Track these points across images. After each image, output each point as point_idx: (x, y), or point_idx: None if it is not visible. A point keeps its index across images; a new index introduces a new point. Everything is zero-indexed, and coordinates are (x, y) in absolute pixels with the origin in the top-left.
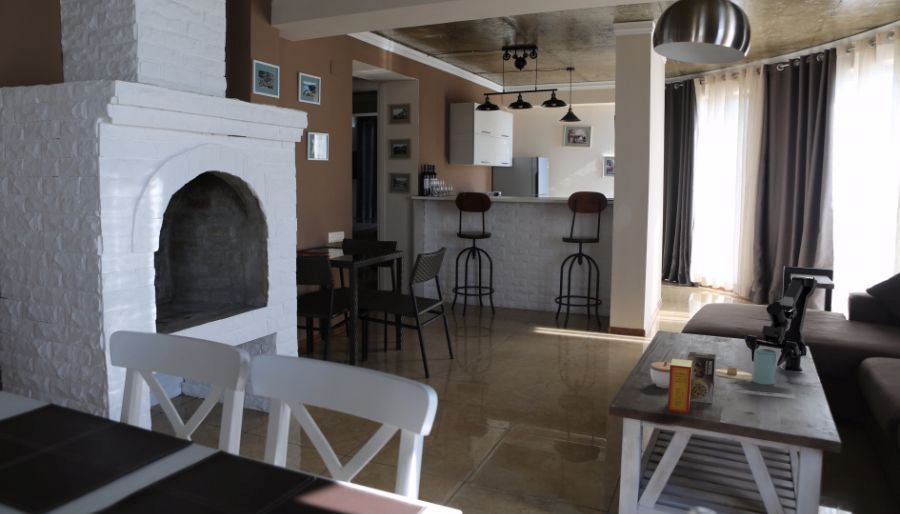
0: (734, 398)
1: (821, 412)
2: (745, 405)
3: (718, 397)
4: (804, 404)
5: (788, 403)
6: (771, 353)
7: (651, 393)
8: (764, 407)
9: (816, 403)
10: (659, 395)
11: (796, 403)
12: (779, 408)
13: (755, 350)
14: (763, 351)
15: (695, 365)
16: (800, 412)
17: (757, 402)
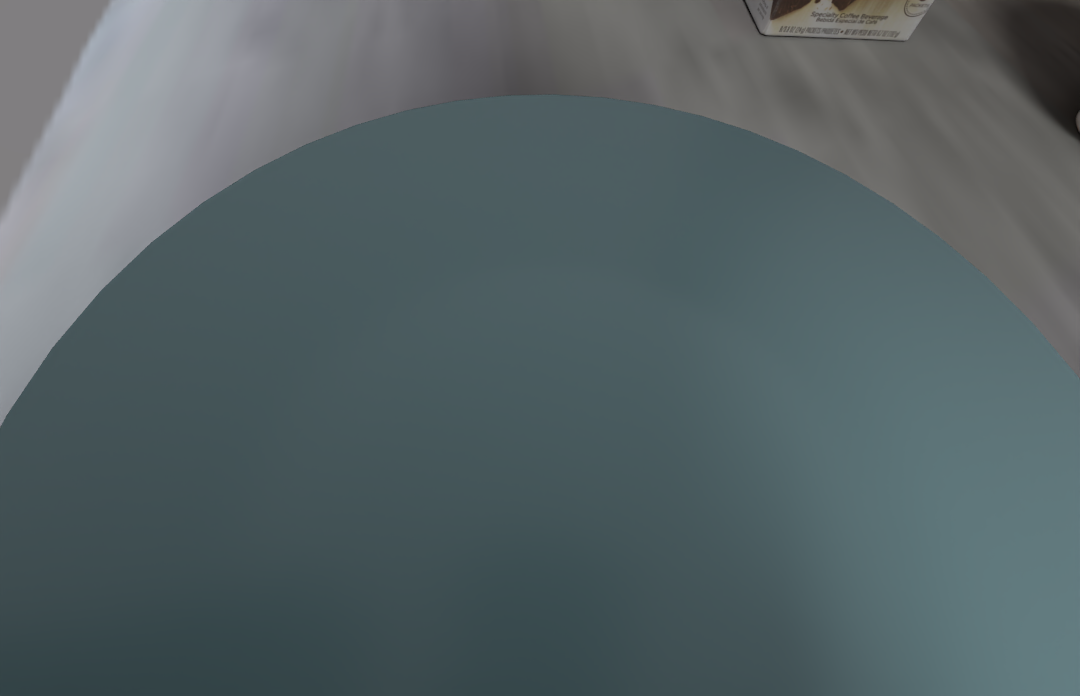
0: (665, 85)
1: (101, 41)
2: (576, 10)
3: (754, 70)
4: (174, 138)
5: (302, 118)
6: (309, 146)
7: (1057, 15)
8: (469, 14)
9: (45, 194)
10: (1006, 4)
11: (236, 137)
12: (379, 24)
13: (1029, 330)
14: (669, 308)
15: None
16: (256, 7)
17: (516, 69)
